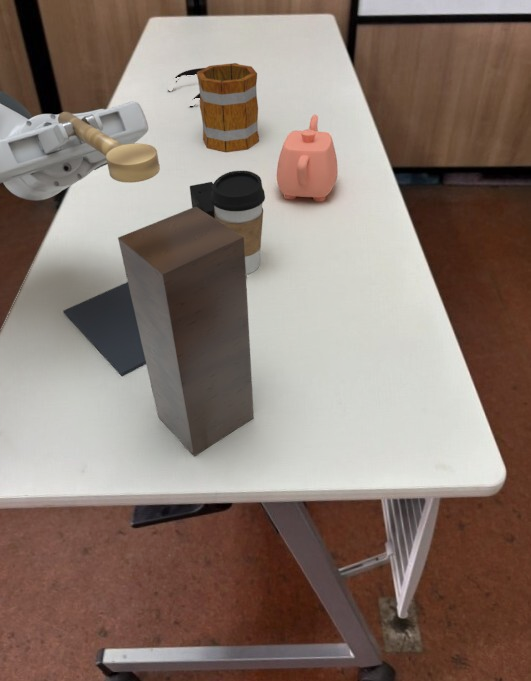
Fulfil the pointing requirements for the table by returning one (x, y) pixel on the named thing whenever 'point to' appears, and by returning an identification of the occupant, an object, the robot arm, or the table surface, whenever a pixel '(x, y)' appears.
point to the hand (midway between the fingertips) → (81, 126)
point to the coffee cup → (241, 210)
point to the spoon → (117, 152)
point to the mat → (111, 327)
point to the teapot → (307, 164)
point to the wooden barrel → (229, 106)
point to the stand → (193, 323)
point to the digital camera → (202, 197)
